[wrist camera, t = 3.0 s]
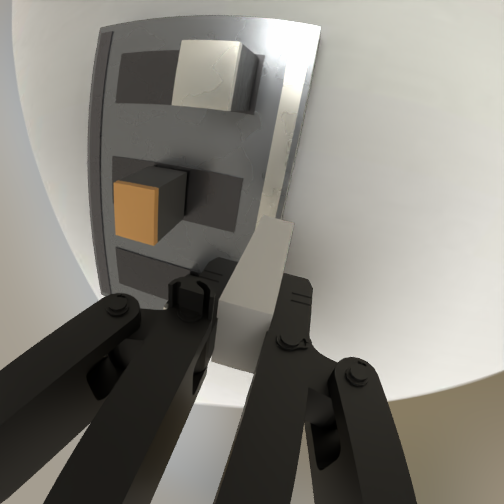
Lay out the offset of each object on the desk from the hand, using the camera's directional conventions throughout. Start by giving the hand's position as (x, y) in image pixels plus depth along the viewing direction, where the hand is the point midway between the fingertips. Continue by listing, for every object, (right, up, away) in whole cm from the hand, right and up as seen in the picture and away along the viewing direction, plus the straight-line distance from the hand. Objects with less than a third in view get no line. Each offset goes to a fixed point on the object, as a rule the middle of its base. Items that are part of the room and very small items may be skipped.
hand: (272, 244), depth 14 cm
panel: (-6, +4, +5) cm, 9 cm away
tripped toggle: (-6, +3, +3) cm, 7 cm away
